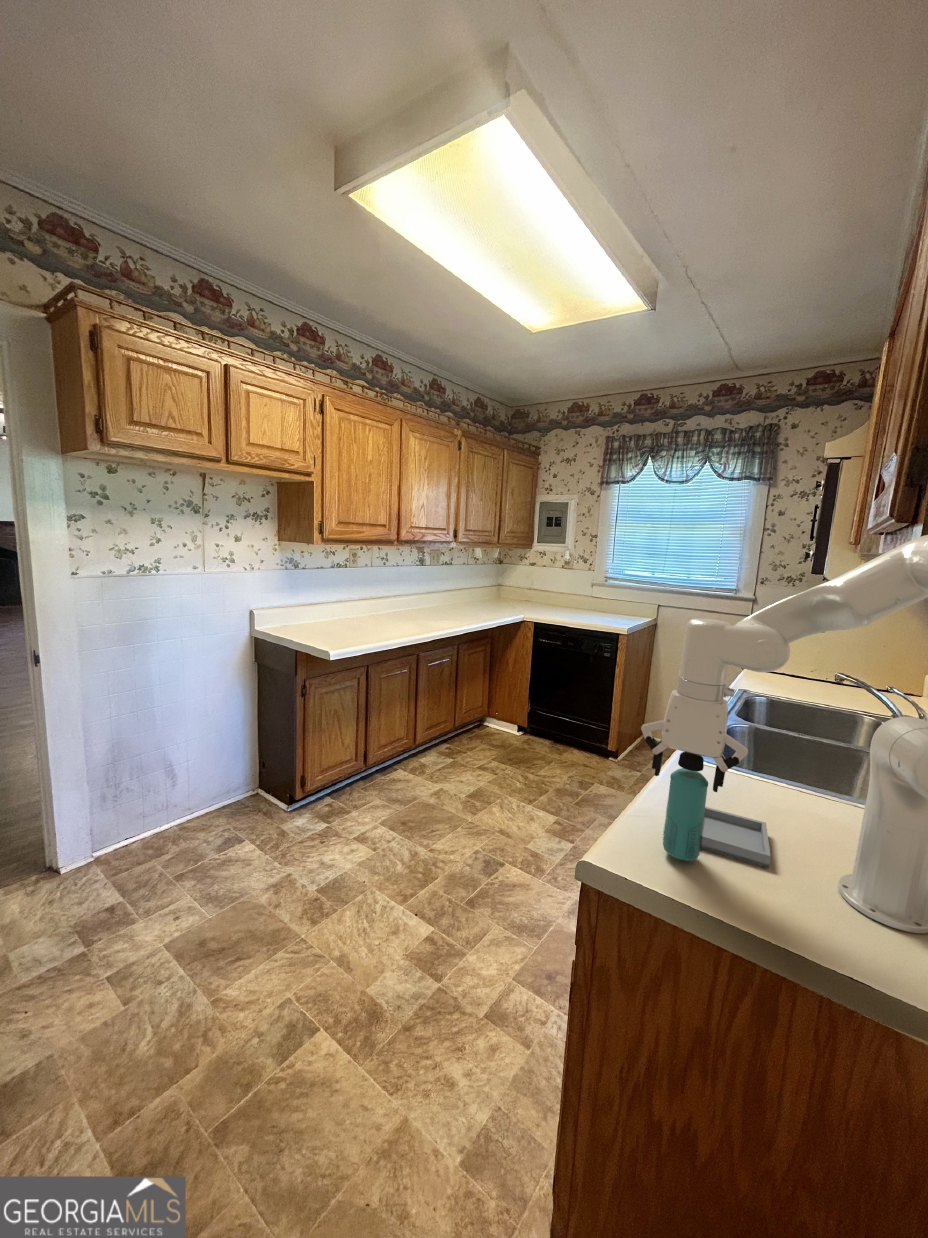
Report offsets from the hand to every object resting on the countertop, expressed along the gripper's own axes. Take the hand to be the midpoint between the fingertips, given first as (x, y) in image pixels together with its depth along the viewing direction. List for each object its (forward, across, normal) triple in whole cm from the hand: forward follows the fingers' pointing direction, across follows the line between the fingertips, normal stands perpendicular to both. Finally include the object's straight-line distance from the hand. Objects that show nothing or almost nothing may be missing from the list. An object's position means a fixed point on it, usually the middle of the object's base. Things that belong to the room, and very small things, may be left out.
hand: (685, 781), depth 90 cm
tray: (+15, -9, -12) cm, 21 cm away
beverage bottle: (+15, -1, 0) cm, 15 cm away
